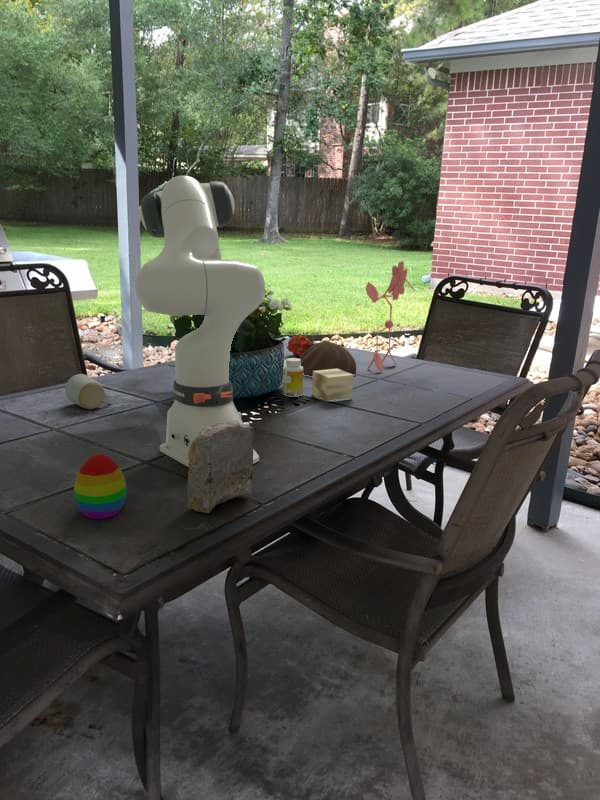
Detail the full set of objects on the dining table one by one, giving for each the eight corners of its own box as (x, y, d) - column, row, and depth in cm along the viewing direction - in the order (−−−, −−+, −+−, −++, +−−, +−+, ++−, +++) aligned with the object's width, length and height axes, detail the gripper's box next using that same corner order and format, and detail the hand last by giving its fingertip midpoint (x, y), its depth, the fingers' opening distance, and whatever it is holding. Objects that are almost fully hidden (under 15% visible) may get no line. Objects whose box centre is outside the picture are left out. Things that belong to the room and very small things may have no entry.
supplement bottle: (306, 396, 182) (308, 360, 179) (290, 399, 178) (291, 362, 175) (293, 392, 186) (295, 356, 183) (278, 394, 182) (279, 358, 179)
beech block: (352, 399, 180) (353, 374, 178) (327, 403, 176) (328, 377, 174) (336, 392, 187) (337, 368, 185) (311, 395, 183) (312, 371, 181)
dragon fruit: (286, 358, 236) (315, 367, 230) (278, 347, 228) (307, 357, 223) (297, 337, 237) (325, 346, 232) (289, 326, 230) (318, 335, 225)
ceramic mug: (80, 412, 161) (78, 382, 159) (65, 405, 166) (63, 375, 164) (119, 406, 168) (118, 376, 166) (104, 399, 174) (103, 370, 172)
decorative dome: (282, 370, 211) (283, 339, 208) (327, 363, 224) (328, 333, 221) (325, 383, 197) (326, 350, 195) (369, 374, 210) (371, 343, 208)
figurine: (352, 373, 209) (361, 260, 199) (388, 360, 230) (398, 257, 220) (396, 382, 201) (408, 265, 192) (429, 368, 222) (441, 262, 212)
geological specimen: (231, 490, 119) (231, 411, 115) (256, 500, 116) (257, 418, 112) (186, 509, 111) (184, 424, 107) (211, 520, 108) (211, 433, 103)
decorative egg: (133, 503, 113) (131, 447, 110) (117, 524, 105) (115, 465, 102) (86, 500, 113) (83, 445, 111) (67, 521, 106) (63, 462, 103)
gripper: (233, 367, 174) (282, 373, 170) (264, 353, 193) (308, 358, 188) (233, 390, 176) (281, 397, 172) (263, 374, 195) (308, 379, 190)
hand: (296, 376), depth 180 cm, fingers closed on supplement bottle, 5 cm apart
